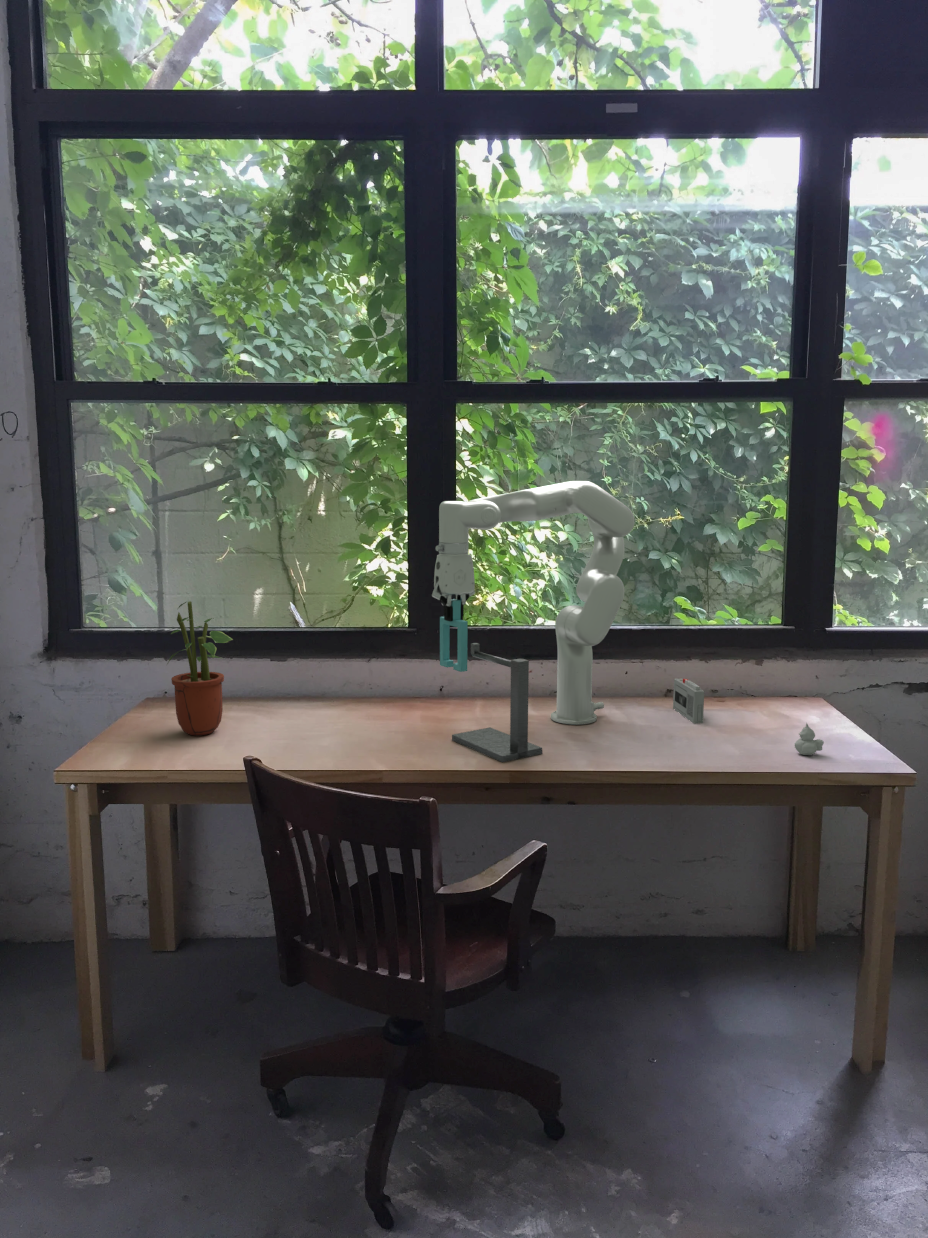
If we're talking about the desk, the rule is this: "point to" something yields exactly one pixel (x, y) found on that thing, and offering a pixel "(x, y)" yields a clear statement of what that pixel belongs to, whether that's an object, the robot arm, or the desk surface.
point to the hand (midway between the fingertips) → (453, 619)
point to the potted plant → (199, 683)
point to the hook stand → (517, 742)
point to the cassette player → (688, 700)
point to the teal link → (462, 639)
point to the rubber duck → (808, 742)
